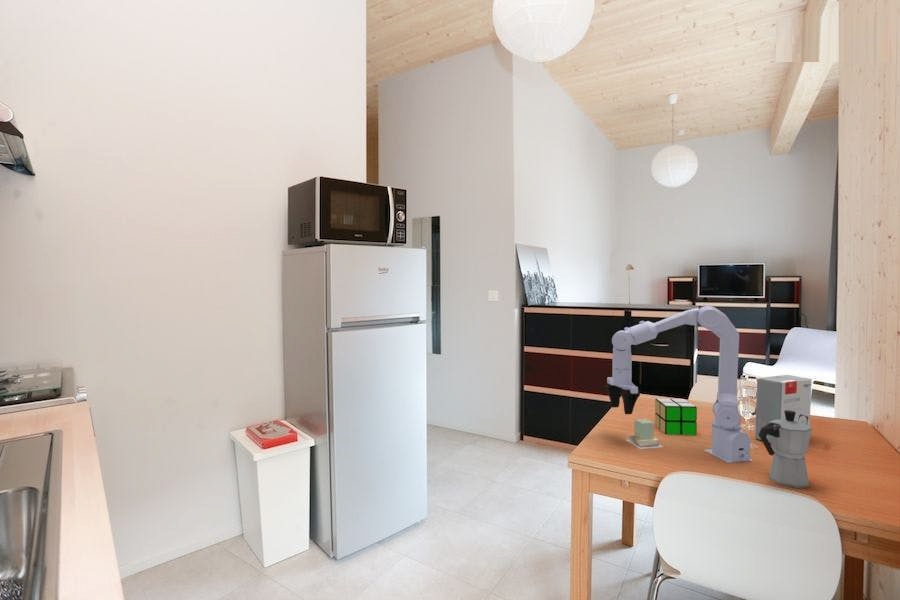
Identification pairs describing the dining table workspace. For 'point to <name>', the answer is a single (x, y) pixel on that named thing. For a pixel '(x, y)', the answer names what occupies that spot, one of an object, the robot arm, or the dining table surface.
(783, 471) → the coffee maker
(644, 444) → the base block
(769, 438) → the hard drive box
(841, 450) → the dining table surface
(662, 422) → the puzzle cube
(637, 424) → the green block
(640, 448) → the building mat
